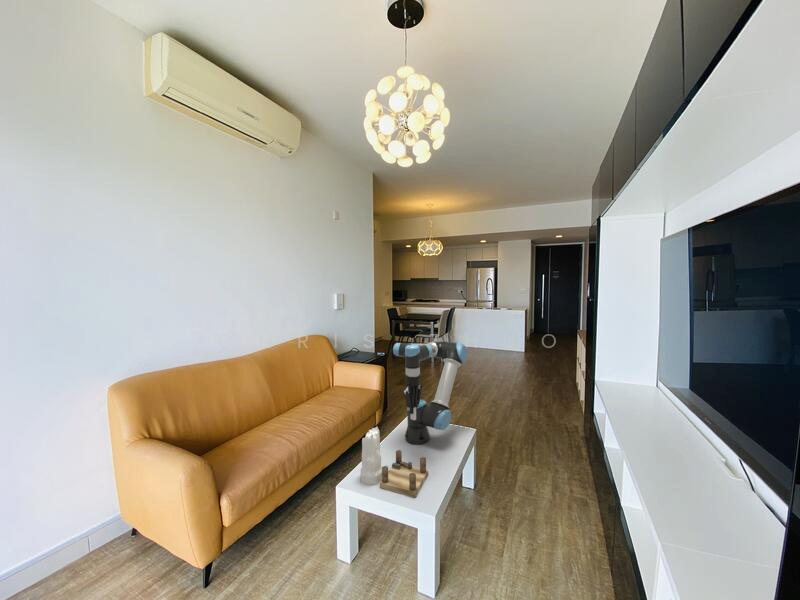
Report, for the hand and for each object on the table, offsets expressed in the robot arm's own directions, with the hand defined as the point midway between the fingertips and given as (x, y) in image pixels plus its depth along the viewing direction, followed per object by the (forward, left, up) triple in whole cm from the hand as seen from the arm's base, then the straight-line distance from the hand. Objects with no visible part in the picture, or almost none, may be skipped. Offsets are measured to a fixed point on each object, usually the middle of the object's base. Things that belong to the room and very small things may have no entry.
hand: (413, 419), depth 166 cm
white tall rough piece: (+19, -15, -25) cm, 35 cm away
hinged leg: (+7, -3, -22) cm, 23 cm away
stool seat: (+15, +1, -24) cm, 29 cm away
